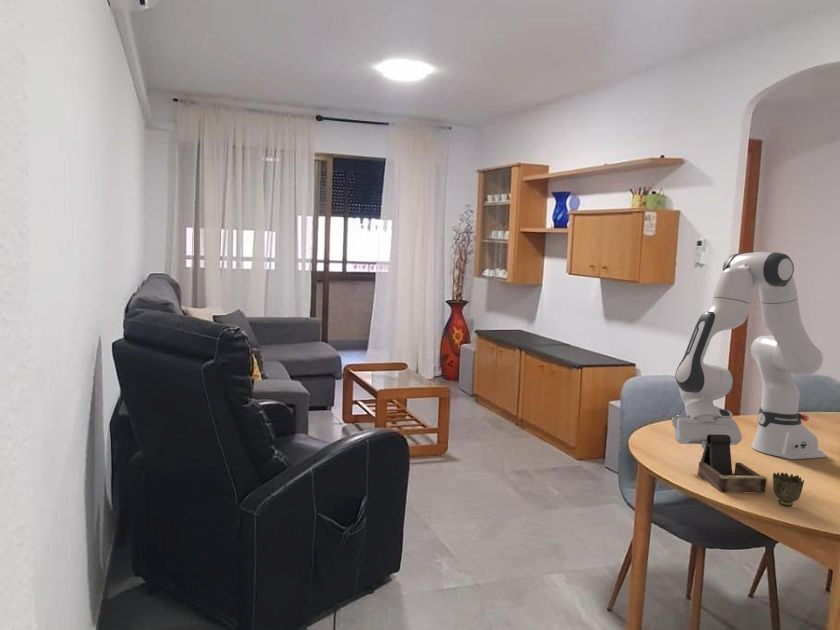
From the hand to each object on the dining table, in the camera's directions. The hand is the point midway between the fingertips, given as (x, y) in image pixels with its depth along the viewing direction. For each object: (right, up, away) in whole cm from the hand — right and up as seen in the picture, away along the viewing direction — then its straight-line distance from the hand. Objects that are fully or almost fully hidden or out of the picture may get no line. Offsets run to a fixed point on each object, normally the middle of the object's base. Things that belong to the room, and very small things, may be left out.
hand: (714, 456), depth 202 cm
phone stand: (0, -5, -1) cm, 5 cm away
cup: (+9, -8, -23) cm, 26 cm away
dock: (+1, -6, -8) cm, 10 cm away
